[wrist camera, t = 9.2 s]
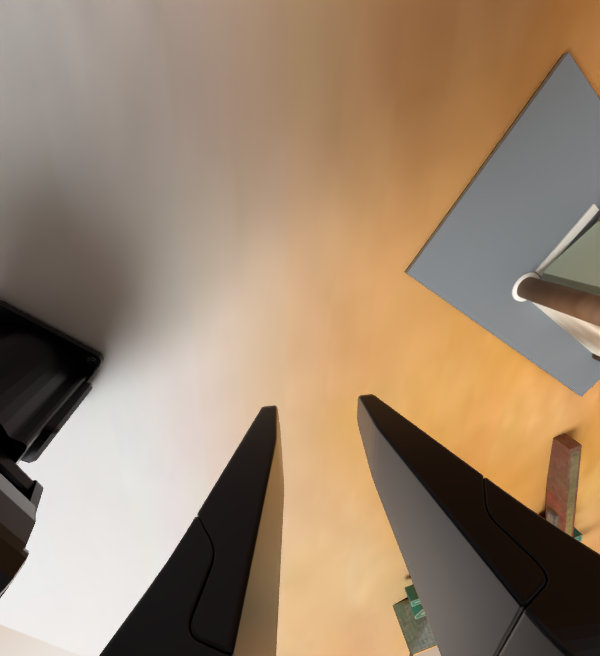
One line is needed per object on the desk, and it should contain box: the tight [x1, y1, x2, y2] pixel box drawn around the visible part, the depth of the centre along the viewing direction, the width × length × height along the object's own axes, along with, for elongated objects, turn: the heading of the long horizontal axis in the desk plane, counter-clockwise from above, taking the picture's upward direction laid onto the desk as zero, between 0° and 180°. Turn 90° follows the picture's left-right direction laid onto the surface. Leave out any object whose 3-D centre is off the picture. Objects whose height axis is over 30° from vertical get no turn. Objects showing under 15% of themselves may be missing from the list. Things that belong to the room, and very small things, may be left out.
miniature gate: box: [393, 434, 582, 656], centre depth 35 cm, size 27×6×30 cm
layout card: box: [405, 52, 600, 397], centre depth 22 cm, size 24×14×1 cm, turn 57°
